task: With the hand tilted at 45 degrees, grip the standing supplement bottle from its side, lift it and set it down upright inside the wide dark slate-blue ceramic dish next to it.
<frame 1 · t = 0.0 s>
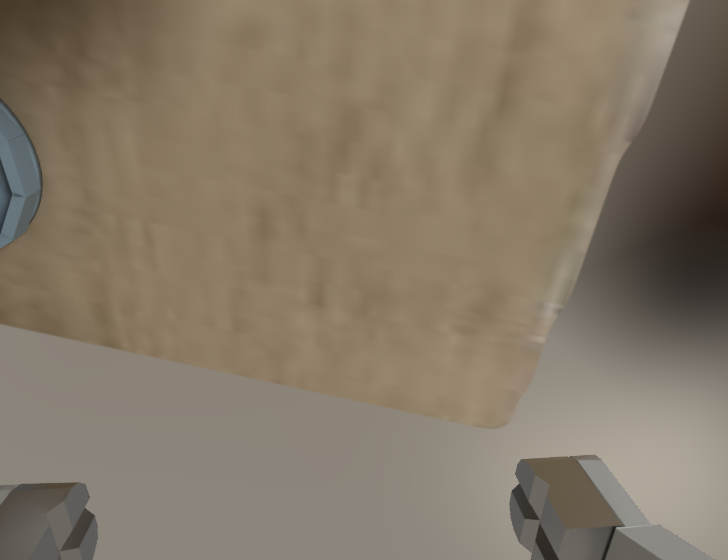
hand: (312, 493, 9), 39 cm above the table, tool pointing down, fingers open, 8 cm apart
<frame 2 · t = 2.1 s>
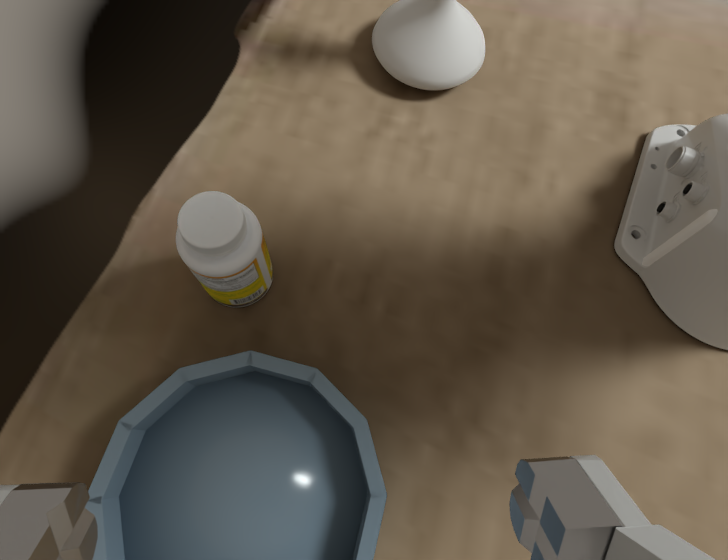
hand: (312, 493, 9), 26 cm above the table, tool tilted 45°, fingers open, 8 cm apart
flower in vase: (417, 56, 48), on the table
slate dish: (248, 492, 32), on the table
supplement bottle: (240, 278, 38), on the table
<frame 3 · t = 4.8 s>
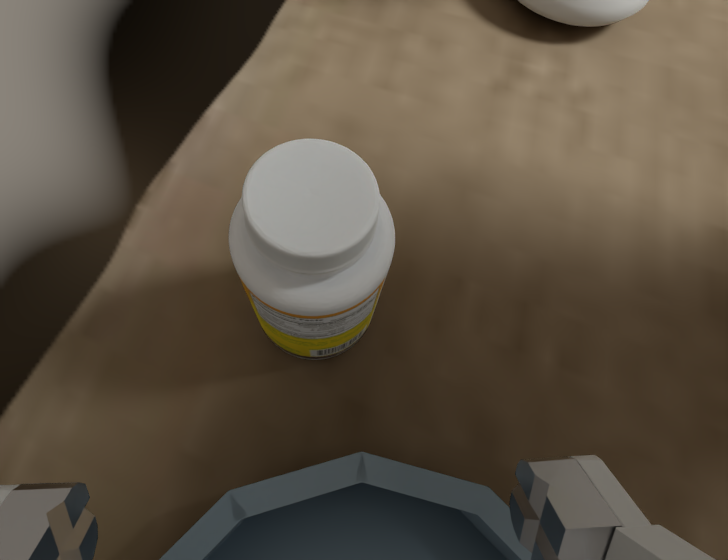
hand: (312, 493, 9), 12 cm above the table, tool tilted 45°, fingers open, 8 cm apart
supplement bottle: (315, 308, 23), on the table
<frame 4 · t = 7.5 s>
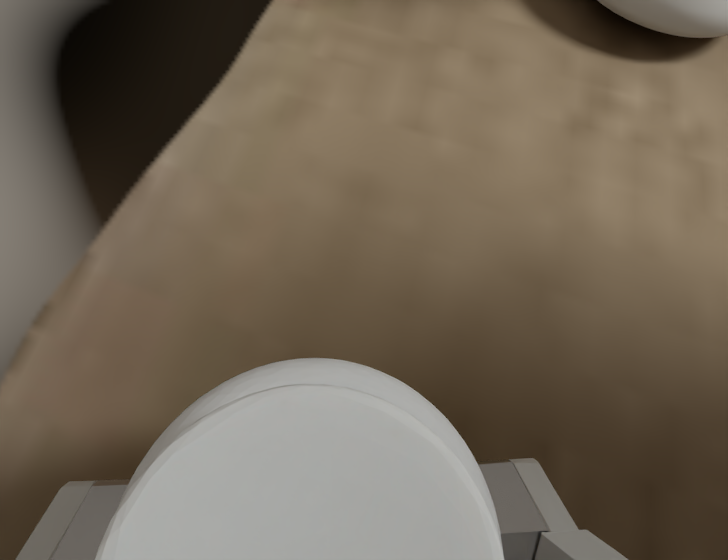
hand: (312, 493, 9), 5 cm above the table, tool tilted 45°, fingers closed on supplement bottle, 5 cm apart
supplement bottle: (315, 506, 14), on the table, touching gripper
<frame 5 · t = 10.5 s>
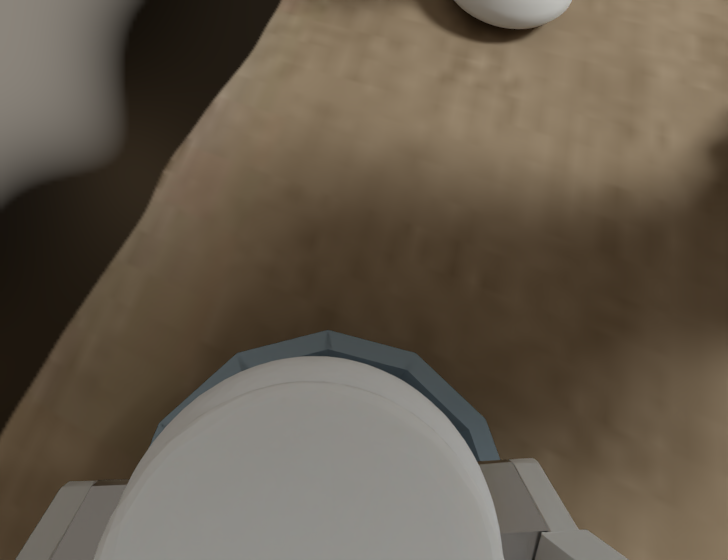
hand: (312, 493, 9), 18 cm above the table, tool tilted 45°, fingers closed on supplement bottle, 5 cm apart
slate dish: (325, 518, 24), on the table
supplement bottle: (315, 505, 14), point 12 cm above the table, touching gripper
when the fingers open (8 cm above the table, at t = 13.4 s): supplement bottle drops 1 cm, resting on slate dish.
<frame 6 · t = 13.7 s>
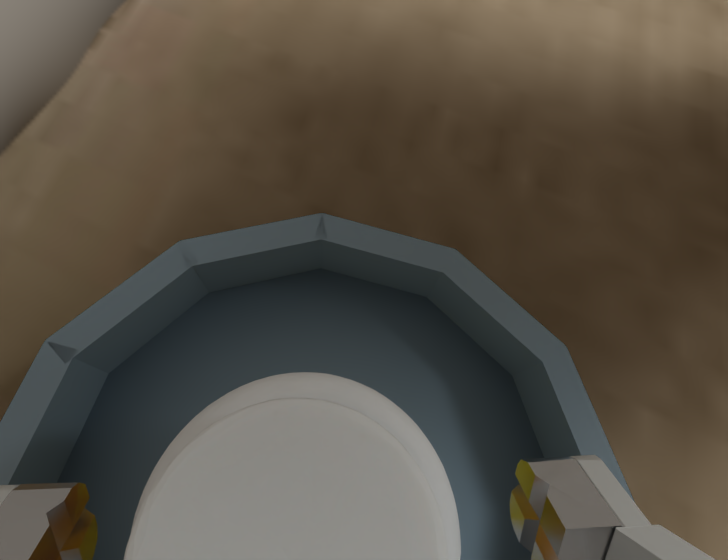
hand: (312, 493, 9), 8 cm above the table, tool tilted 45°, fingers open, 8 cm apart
slate dish: (315, 500, 16), on the table
supplement bottle: (310, 502, 15), point 1 cm above the table, touching slate dish
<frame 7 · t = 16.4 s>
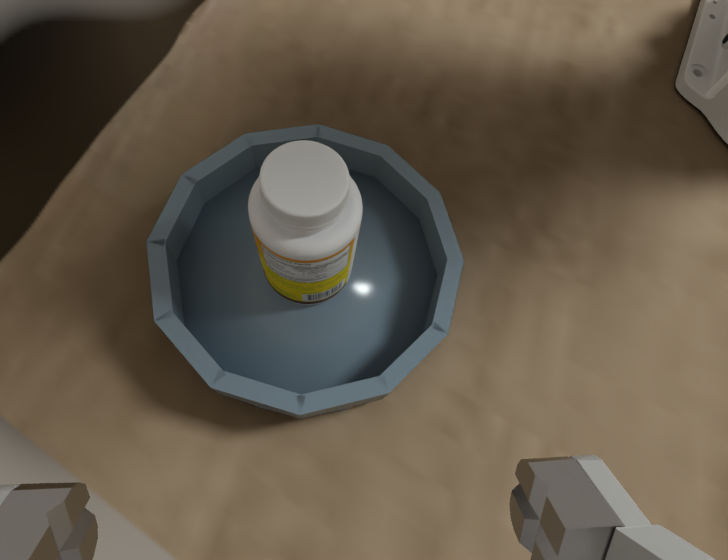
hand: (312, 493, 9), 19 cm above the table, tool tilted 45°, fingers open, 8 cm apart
slate dish: (310, 273, 30), on the table
supplement bottle: (307, 268, 30), point 1 cm above the table, touching slate dish
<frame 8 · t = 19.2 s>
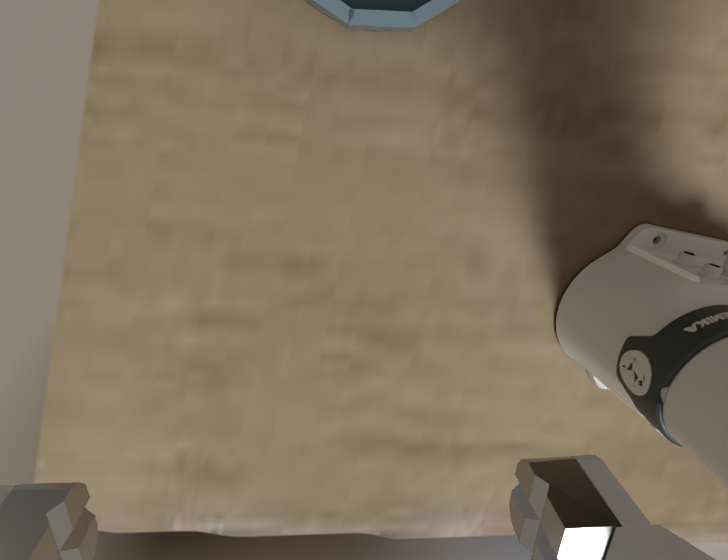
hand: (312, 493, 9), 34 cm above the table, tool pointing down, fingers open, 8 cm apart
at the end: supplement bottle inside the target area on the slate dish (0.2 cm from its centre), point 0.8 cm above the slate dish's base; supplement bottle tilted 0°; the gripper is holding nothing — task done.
